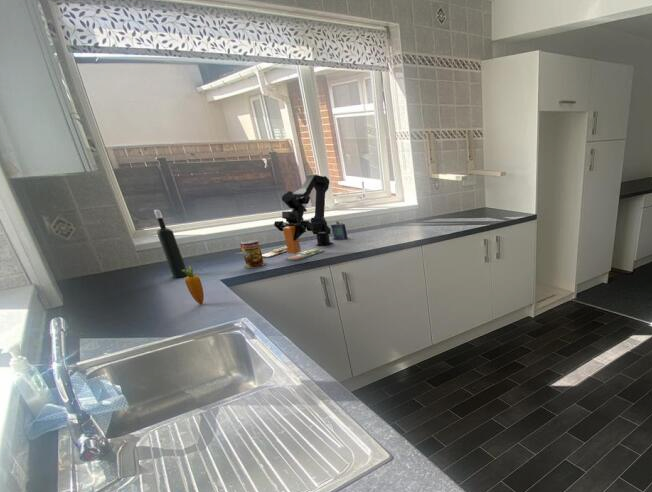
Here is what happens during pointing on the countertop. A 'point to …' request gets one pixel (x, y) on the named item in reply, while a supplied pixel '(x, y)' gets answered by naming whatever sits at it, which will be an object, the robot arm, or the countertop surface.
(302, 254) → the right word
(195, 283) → the carrot
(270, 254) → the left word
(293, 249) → the orange rectangular block
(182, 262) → the wine bottle
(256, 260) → the canned food
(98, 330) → the countertop surface
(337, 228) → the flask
